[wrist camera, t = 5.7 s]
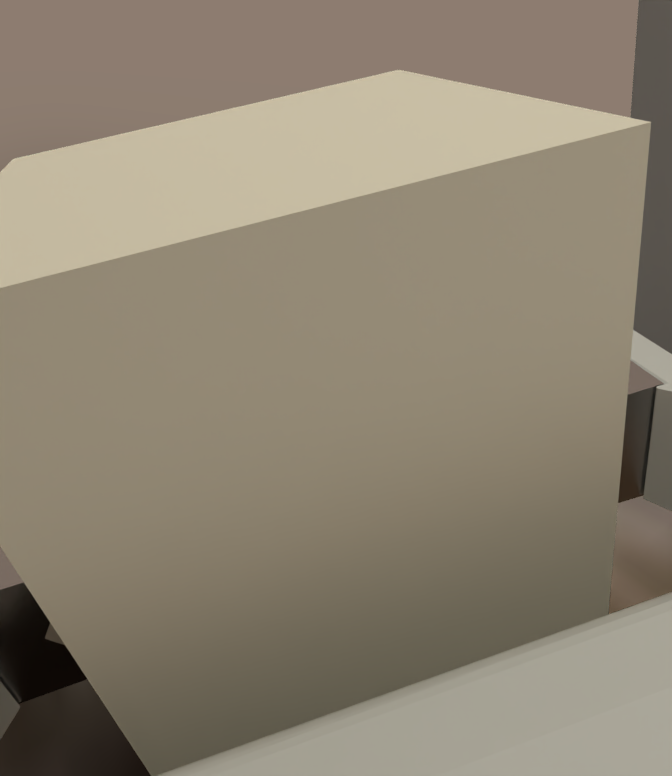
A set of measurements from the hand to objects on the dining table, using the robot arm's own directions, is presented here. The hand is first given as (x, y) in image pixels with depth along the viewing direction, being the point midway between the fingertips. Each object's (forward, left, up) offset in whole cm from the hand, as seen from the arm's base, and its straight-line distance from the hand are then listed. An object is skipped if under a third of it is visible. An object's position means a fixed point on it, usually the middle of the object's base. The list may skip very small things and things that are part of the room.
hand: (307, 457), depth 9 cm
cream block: (0, -1, -6) cm, 6 cm away
